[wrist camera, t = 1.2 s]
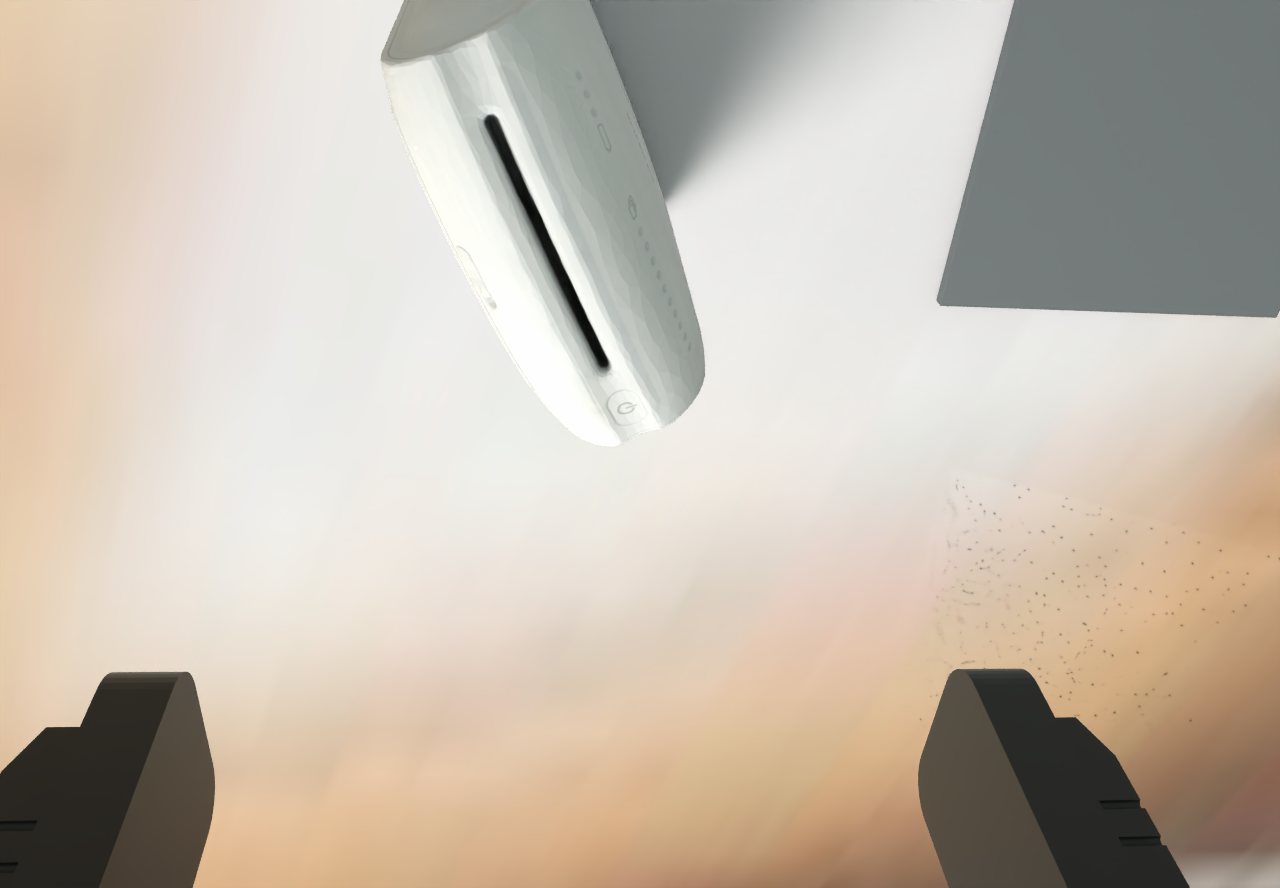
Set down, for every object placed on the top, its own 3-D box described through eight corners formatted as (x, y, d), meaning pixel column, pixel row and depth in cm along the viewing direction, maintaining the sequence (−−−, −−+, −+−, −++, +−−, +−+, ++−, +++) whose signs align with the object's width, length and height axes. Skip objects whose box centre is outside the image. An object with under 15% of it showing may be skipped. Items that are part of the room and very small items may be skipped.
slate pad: (1409, 7, 31) (1418, 9, 31) (1269, 312, 37) (1276, 317, 36) (1019, -22, 30) (1025, -19, 29) (936, 300, 35) (940, 305, 35)
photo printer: (680, 223, 33) (746, 445, 23) (554, 273, 34) (563, 511, 23) (548, -123, 27) (558, -33, 17) (399, -56, 28) (321, 68, 18)
